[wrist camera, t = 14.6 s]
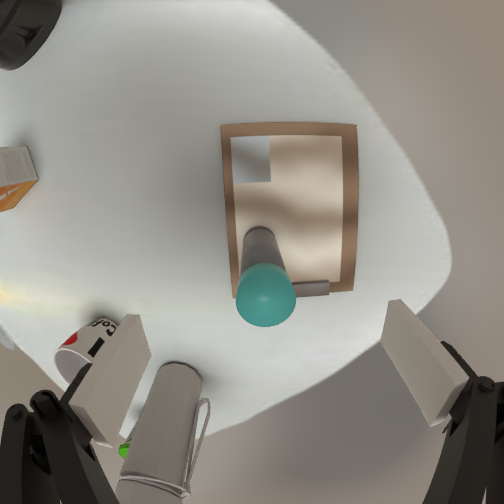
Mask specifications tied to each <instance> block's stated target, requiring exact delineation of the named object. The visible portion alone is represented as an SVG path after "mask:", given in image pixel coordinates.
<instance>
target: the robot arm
mask: <svg viewBox="0 0 504 504" xmlns="http://www.w3.org/2000/svg"><path fill="white" fill-rule="evenodd" d="M60 10H61V0H0V68H1V69H6V70H14V69H16V68H18V67H20V66H21V65H23V64H24V63H25V62H26V61H27V60H29V59H30V58H31V57H32V56H33V55H34V53H35V52H36V51H37V50H38V49H39V48H40V46H41V45H42V44H43V42H44V41H45V40H46V38H47V37H48V35H49V34H50V32H51V31H52V29H53V27H54V25H55V23H56V21H57V19H58V16H59V14H60ZM380 343H381V344H382V346H383V347H384V349H385V351H386V352H387V354H388V355H389V357H390V358H391V360H392V362H393V363H394V365H395V367H396V368H397V370H398V372H399V373H400V375H401V377H402V378H403V380H404V381H405V383H406V385H407V387H408V388H409V390H410V392H411V393H412V395H413V397H414V398H415V400H416V402H417V404H418V406H419V407H420V409H421V411H422V413H423V415H424V416H425V418H426V420H427V422H428V423H429V425H430V427H431V426H434V425H436V424H438V423H441V422H443V421H444V420H445V418H446V417H447V415H448V414H449V413H450V415H451V417H452V418H451V420H450V421H449V423H448V424H447V426H446V427H445V428H444V430H443V432H442V433H445V431H446V430H447V429H448V430H447V434H446V438H445V441H444V445H443V448H442V452H441V455H440V458H439V462H438V465H437V468H436V471H435V473H434V476H433V479H432V482H431V484H430V487H429V490H428V492H427V494H426V497H425V499H424V501H423V503H422V504H482V500H483V497H484V493H485V489H486V504H504V382H497V383H495V382H494V381H493V380H492V379H490V378H488V377H485V376H480V377H478V376H477V375H476V374H475V372H474V371H473V370H472V369H471V368H470V366H469V365H468V364H467V363H466V362H465V360H464V359H462V357H461V356H460V355H459V354H457V351H456V350H455V349H454V348H453V347H452V346H451V345H449V344H448V343H446V342H445V341H442V342H439V341H438V340H437V338H436V337H435V336H434V335H433V334H432V333H431V332H430V331H429V329H428V328H427V327H426V326H425V325H424V324H423V323H422V322H421V321H420V319H419V318H418V317H417V316H416V315H415V314H414V313H413V312H412V311H411V310H410V309H409V308H408V307H407V305H406V304H405V303H404V302H403V301H402V300H401V299H398V300H391V301H389V303H388V308H387V313H386V318H385V323H384V327H383V332H382V336H381V340H380ZM150 357H151V353H150V350H149V346H148V343H147V340H146V336H145V333H144V330H143V326H142V323H141V319H140V315H132V314H127V315H126V316H125V318H124V319H123V320H122V322H121V323H120V325H119V326H118V328H117V329H116V330H115V332H114V333H113V335H112V336H111V338H110V339H109V341H108V342H107V344H106V345H105V346H104V348H103V349H102V351H101V352H100V354H99V355H98V357H97V358H96V360H95V362H94V363H87V364H86V365H85V366H83V367H82V368H81V369H80V370H79V372H78V373H77V375H76V378H74V379H73V381H72V384H70V385H69V387H68V388H67V390H66V392H65V393H64V395H63V396H62V398H61V400H60V401H59V400H58V399H57V397H56V395H55V394H54V393H53V392H52V391H50V390H41V391H39V392H37V393H35V394H34V395H33V396H32V398H31V400H30V406H31V407H32V409H33V410H34V412H29V411H28V409H27V408H26V407H25V406H24V405H23V404H14V405H12V406H11V407H10V408H9V409H8V410H7V413H6V416H5V421H4V427H3V431H2V437H1V444H0V504H60V500H61V503H62V504H120V503H119V501H118V499H117V498H116V496H115V494H114V492H113V490H112V488H111V486H110V484H109V482H108V480H107V478H106V476H105V474H104V472H103V470H102V468H101V465H100V463H99V461H98V459H97V456H96V454H95V451H94V449H93V447H92V445H91V444H90V441H91V438H92V437H93V438H94V440H95V441H96V442H97V444H99V445H103V446H107V447H110V448H113V447H114V444H115V441H116V439H117V436H118V434H119V431H120V428H121V426H122V423H123V421H124V418H125V416H126V413H127V411H128V409H129V406H130V404H131V401H132V399H133V396H134V394H135V392H136V389H137V387H138V385H139V382H140V380H141V378H142V375H143V373H144V371H145V368H146V366H147V364H148V362H149V359H150Z"/></svg>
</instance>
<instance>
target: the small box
mask: <svg viewBox="0 0 504 504" xmlns="http://www.w3.org/2000/svg"><path fill="white" fill-rule="evenodd" d="M37 181H38V177H37V174H36V171H35V168H34V166H33V163H32V160H31V157H30V154H29V151H28V148H27V146H17V147H0V212H2V211H5V210H9V209H12V208H14V207H15V205H16V204H17V203H18V202H19V200H20V199H21V198H22V197H23V196H24V194H25V193H26V192H27V191H28V190H29V189H30V188H31V187H32V186H33V185H34V184H35V183H36V182H37Z"/></svg>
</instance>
